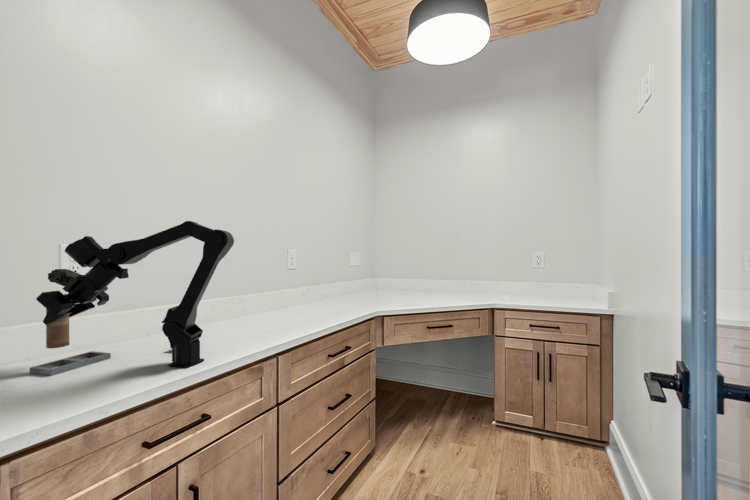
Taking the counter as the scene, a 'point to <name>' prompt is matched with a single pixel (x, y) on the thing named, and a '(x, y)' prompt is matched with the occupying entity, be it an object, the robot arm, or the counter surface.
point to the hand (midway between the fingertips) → (52, 321)
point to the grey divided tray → (69, 363)
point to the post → (57, 333)
